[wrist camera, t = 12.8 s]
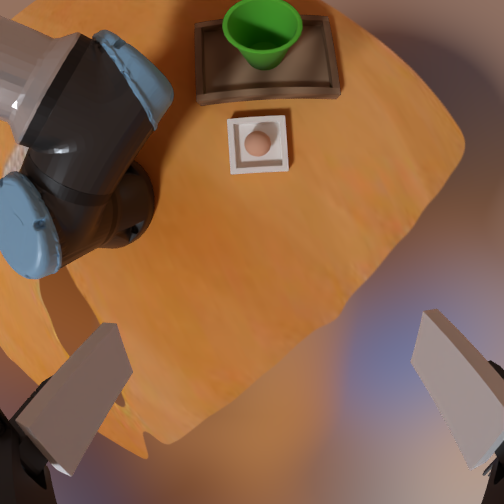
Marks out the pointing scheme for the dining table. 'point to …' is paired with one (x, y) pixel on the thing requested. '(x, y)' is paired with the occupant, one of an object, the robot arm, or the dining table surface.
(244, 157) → the dish
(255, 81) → the tray
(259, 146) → the ball
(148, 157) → the dining table surface
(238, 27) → the cup
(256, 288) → the dining table surface
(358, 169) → the dining table surface
